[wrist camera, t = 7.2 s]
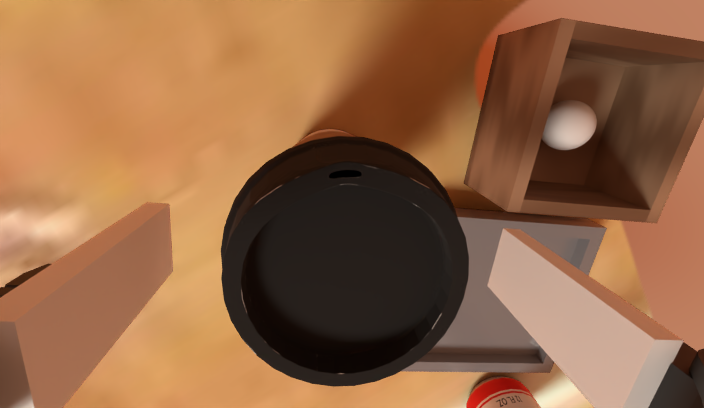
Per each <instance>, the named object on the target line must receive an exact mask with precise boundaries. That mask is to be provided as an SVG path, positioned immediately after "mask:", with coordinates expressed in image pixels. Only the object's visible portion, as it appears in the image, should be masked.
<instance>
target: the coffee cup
mask: <svg viewBox="0 0 704 408" xmlns="http://www.w3.org/2000/svg"><path fill="white" fill-rule="evenodd" d="M221 257H222V286H223V295H224V301H225V304H226V307H227V310H228V313H229V316H230V319H231V321H232V323H233V324H234V326H235V328H236V329H237V331H238V333H239V334H240V336H241V338H242V339H243V341H244V342H245V343H246V344H247V345H248V346H249V347H250V348H251V350H252V351H253V352H254V353H255V354H256V355H257V356H258V357H260V358H261V359H262V360H264V361H265V362H266V363H267V364H269V365H270V366H271V367H273V368H274V369H276V370H278V371H280V372H282V373H284V374H286V375H288V376H290V377H292V378H295V379H299V380H302V381H305V382H309V383H312V384H319V385H327V386H355V385H360V384H365V383H370V382H375V381H378V380H381V379H383V378H386V377H389V376H391V375H394V374H396V373H398V372H400V371H402V370H403V369H405V368H407V367H409V366H411V365H413V364H414V363H415V362H417V361H418V360H419V359H420V358H422V357H423V356H424V355H426V354H427V353H428V352H429V351H430V350H431V349H432V348H433V347H434V346H435V345H436V344H437V343H438V342H439V340H440V339H441V338H442V337H443V336H444V335H445V333H446V332H447V330H448V329H449V327H450V325H451V324H452V322H453V321H454V319H455V318H456V315H457V313H458V311H459V308H460V306H461V304H462V301H463V299H464V295H465V291H466V286H467V282H468V276H469V254H468V248H467V243H466V237H465V235H464V232H463V230H462V227H461V225H460V222H459V220H458V218H457V214H456V210H455V208H454V206H453V204H452V202H451V200H450V198H449V196H448V193H447V191H446V190H445V188H444V187H443V186H442V185H441V183H440V182H439V181H438V180H437V178H436V177H435V176H434V175H433V173H432V172H431V171H430V170H429V169H428V168H427V167H426V166H424V165H423V164H422V163H421V162H419V161H418V160H417V159H415V158H414V157H413V156H411V155H410V154H409V153H407V152H404V151H402V150H400V149H398V148H396V147H394V146H392V145H390V144H388V143H384V142H380V141H376V140H372V139H368V138H364V137H357V136H354V135H352V134H349V133H347V132H345V131H341V130H337V129H324V130H319V131H316V132H313V133H311V134H309V135H308V136H306V137H304V138H303V139H302V140H301V141H300V142H299V143H297V144H296V145H295V146H293V147H292V148H289V149H287V150H286V151H284V152H282V153H281V154H279V155H277V156H276V157H274V158H273V159H271V160H269V161H268V162H266V163H265V164H264V165H263V166H262V167H261V168H260V169H259V170H258V171H257V172H255V173H254V174H253V175H252V176H251V177H250V178H249V179H248V180H247V182H246V183H245V185H244V186H243V188H242V189H241V191H240V192H239V194H238V195H237V197H236V198H235V200H234V202H233V205H232V208H231V210H230V213H229V215H228V218H227V220H226V224H225V227H224V233H223V240H222V246H221Z"/></svg>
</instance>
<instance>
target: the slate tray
mask: <svg viewBox="0 0 704 408" xmlns="http://www.w3.org/2000/svg"><path fill="white" fill-rule="evenodd" d="M455 210H456V214H457V218H458V220H459V222H460V225H461V227H462V230H463V232H464V235H465V237H466V243H467V248H468V254H469V276H468V282H467V286H466V291H465V295H464V299H463V301H462V304H461V306H460V308H459V311H458V313H457V315H456V318H455V319H454V321H453V322H452V324H451V325H450V327H449V329H448V330H447V332H446V333H445V335H444V336H443V337H442V338H441V339H440V340H439V342H438V343H437V344H436V345H435V346H434V347H433V348H432V349H431V350H430V351H429V352H428V353H427V354H426V355H424V356H423V357H422V358H420V359H419V360H418V361H417V362H415V363H414V364H413V365H411V366H409V367H407V368H405V369H403V370H402V371H424V372H530V373H550V371H551V369H552V366H553V364H554V361H553V360H552V359H551V358H550V357H549V356H548V354H547V353H546V352H545V351H544V350H543V349H542V348H541V346H540V345H539V344H538V343H537V342H536V341H535V340H534V338H533V337H532V336H531V335H530V334H529V333H528V332H527V330H526V329H525V328H524V327H523V326H522V325H521V324H520V322H519V321H518V320H517V319H516V318H515V317H514V316H513V315H512V313H511V312H510V311H509V310H508V309H507V308H506V307H505V305H504V304H503V303H502V302H501V301H500V300H499V299H498V297H497V296H496V295H495V294H494V293H493V292H492V291H491V289H490V288H489V287H488V286H487V285H488V282H489V278H490V274H491V271H492V267H493V263H494V260H495V256H496V252H497V249H498V245H499V241H500V238H501V234H502V230H503V228H506V229H520V230H522V231H523V232H524V233H526V234H527V235H529V236H530V237H532V238H533V239H535V240H536V241H538V242H539V243H541V244H542V245H544V246H545V247H547V248H548V249H550V250H551V251H552V252H554V253H555V254H557V255H558V256H560V257H561V258H563V259H564V260H566V261H567V262H569V263H570V264H572V265H573V266H575V267H576V268H578V269H579V270H581V271H582V272H583V273H585V274H586V275H589V272H590V269H591V267H592V264H593V262H594V259H595V257H596V254H597V252H598V249H599V246H600V244H601V241H602V239H603V236H604V234H605V231H606V229H607V228H605V227H603V226H601V225H599V224H597V223H595V222H593V221H591V220H589V219H587V218H577V217H565V216H552V215H539V214H526V213H514V212H501V211H488V210H475V209H463V208H455Z"/></svg>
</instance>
